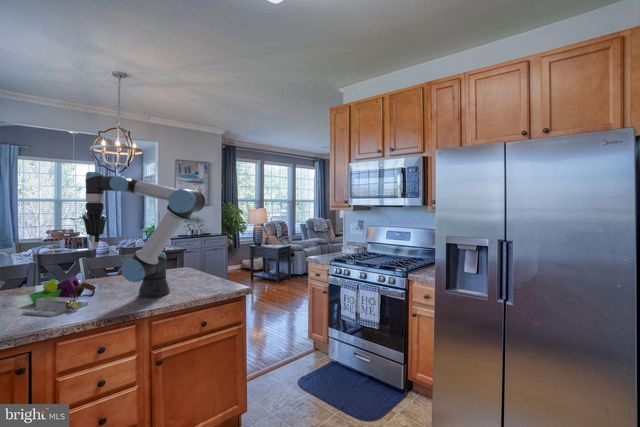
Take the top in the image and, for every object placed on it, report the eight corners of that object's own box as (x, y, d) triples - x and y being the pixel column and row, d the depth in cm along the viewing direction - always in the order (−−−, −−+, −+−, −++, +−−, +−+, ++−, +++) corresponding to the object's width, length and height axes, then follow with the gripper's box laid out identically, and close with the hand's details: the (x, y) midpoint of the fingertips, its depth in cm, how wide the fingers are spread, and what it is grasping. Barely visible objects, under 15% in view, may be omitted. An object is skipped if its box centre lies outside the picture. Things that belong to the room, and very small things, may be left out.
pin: (81, 308, 152) (80, 300, 152) (73, 310, 149) (73, 302, 148) (49, 305, 155) (49, 297, 155) (41, 308, 152) (40, 300, 152)
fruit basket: (48, 298, 170) (48, 276, 170) (65, 298, 170) (64, 277, 170) (28, 305, 159) (27, 281, 158) (46, 305, 158) (45, 282, 158)
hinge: (87, 304, 160) (87, 295, 160) (52, 316, 142) (52, 305, 142) (60, 302, 163) (60, 293, 162) (22, 314, 145) (22, 303, 145)
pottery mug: (74, 295, 178) (84, 281, 181) (91, 302, 179) (100, 288, 182) (63, 295, 167) (74, 280, 170) (82, 303, 168) (91, 288, 171)
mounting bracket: (39, 310, 170) (76, 292, 174) (30, 296, 168) (68, 279, 173) (48, 304, 179) (83, 288, 183) (40, 291, 178) (75, 275, 182)
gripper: (111, 202, 170) (111, 248, 171) (90, 202, 172) (90, 247, 173) (99, 202, 163) (99, 249, 163) (77, 202, 165) (77, 249, 165)
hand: (94, 248), depth 168 cm, fingers closed
